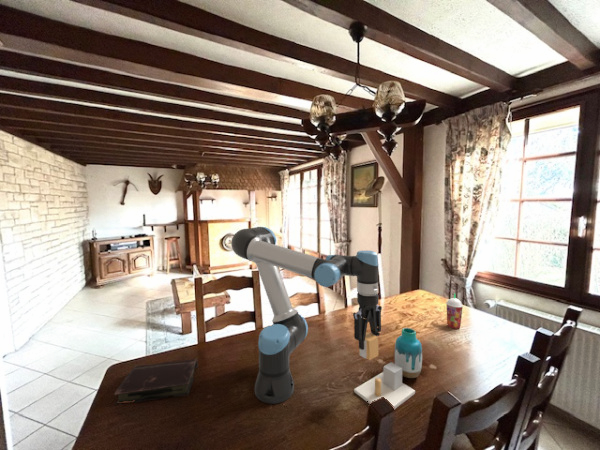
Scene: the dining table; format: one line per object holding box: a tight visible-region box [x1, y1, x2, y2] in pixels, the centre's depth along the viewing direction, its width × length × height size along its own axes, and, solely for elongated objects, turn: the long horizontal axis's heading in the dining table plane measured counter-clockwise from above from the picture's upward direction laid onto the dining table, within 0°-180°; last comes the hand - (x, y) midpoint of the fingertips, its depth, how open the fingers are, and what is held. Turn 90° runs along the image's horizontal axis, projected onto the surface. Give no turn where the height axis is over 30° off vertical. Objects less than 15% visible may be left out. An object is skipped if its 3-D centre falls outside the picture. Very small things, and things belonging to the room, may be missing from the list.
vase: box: [394, 327, 423, 379], centre depth 108 cm, size 11×11×19 cm
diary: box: [113, 358, 199, 405], centre depth 103 cm, size 19×25×5 cm
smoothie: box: [446, 293, 464, 330], centre depth 151 cm, size 8×8×20 cm
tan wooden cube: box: [358, 331, 379, 361], centre depth 96 cm, size 5×5×7 cm
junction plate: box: [353, 361, 416, 409], centre depth 98 cm, size 18×14×8 cm
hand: (368, 353), depth 97 cm, fingers closed on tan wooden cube, 5 cm apart
